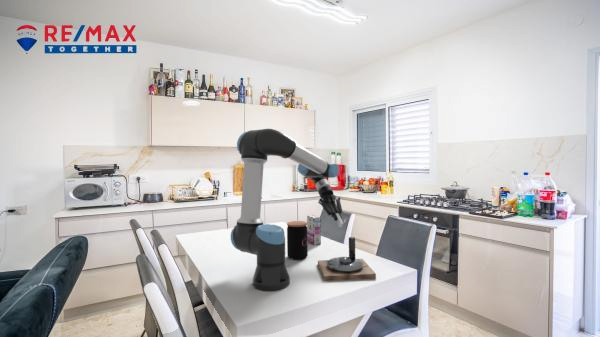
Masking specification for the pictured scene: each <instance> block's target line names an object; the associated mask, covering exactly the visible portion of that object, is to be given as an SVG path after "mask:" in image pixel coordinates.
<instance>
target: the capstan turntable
mask: <svg viewBox="0 0 600 337" xmlns="http://www.w3.org/2000/svg"><path fill="white" fill-rule="evenodd" d="M358 259H359V258H356V237H353V236H349V237H348V256H338V257H333V258H330V259H327V260H328V261H327V267H328V268H329V269H331V270H333V271H337V272H345V273H349V272H356V271H359V270H361V269H362V268H363V263H362V261H360V260H358Z"/></svg>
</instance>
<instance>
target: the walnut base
mask: <svg viewBox="0 0 600 337" xmlns="http://www.w3.org/2000/svg"><path fill="white" fill-rule="evenodd" d="M357 259H358V260H360V261H362V263H363V268H362V269H361V270H359V271H356V272H349V273H345V272H337V271H333V270H331V269H329V268H328V267H327V261H328V260H329V259H324V260H323V259H322V260H320V259H319V260H317V266H318V268H319V271H320V273H321V275H322V279H323V281H324V282H328V281H329V282H330V281H348V280H349V281H351V280H369V279H370V280H373V278H375V279H377V274H376V272H375V271H374V270H373V269H372V268H371V267H370V266H369V264H368V263H367V262H366V261H365V259H363V258H357Z"/></svg>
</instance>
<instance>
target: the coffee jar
mask: <svg viewBox="0 0 600 337" xmlns="http://www.w3.org/2000/svg"><path fill="white" fill-rule="evenodd" d="M286 225H287V227H286V240H287V241H286V242H287V243H286V244H287V247H286V248H287V249H286V250H287V253H286V254H287V257H288V259H290V260H294V261H300V260H305V259H306V258H307V257H308V256H309V255H308V252H309V250H308V249H309V248H308V241H307V221H302V220H292V221H288V222H287V223H286Z"/></svg>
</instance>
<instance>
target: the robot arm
mask: <svg viewBox="0 0 600 337" xmlns="http://www.w3.org/2000/svg"><path fill="white" fill-rule="evenodd" d="M236 148H237V151H238V153H239V154H240V155H241V157H240V158H241V159H240V160H241V161H242V162H243V164H244V165H243V176H242V179H243V180H242V194H241V207H240V208H241V210H240V217H239V218H238V219H237V220H236V224H235V226H234V227H233V228H232V229H231V232H230V241H231V245H232V246H233V247H234V248H235V249H237V250H238V251H240V252H242V253H247V254H251V255H255V256H256V267H255V272H254V275H253V278H252V285H253V286H252V287H254V288H255V289H257V290H259V291H266V292H267V291H268V292H269V291H270V292H272V291H279V290H282V289H284V288H287V287H288V286H289V285H290V283H291V282H290V280H291V278H290V274H289V271H288V268H287V266H286V265H287V264H286V236H285V230H284V228H282V226H279V225H276V224H269V223H266V224H265V223H264V221H263V220H262V219H261V212H262V195H263V179H264V165H265V164H266V163H267V162H268V157H269V156H273V157H274V156H276V157H280V158H282V159H289V160H291V161H293V162H295V163H297V164H298V165H297V166H298V167H297V172H298V173H299V174H301V175H302V176H303V177H305V178H307V179H309V180H310V181H312V182H313V184H314V186H315V188H316V190H317V192H318V195H319V197H320V198H319V200H318V204H319V205H321V207H322V208H323V210H324V211H325V212H326V214H327V216H329V217H330V216H331V218H333V220H334V221H335V222H336V225H337V226H338V228H342V227H343V226H344V222H343V218H342V215H341V214H342V213H343V208H342V205H341V204H342V203H341V197H336V195H335V194H334V191H333V188H332V187H331V184H330V182H329V181H328V179H327V178H329V179H331V178H337V177H338V176H339V172H340V167H339V165H338V163H336V162H328V161H327V160H324V159H323V158H321V157H320V156H318V155H316V154H315V153H313V152H311V151H310V150H309V149H306V148H305V147H303V146H301V145H300V144H298V143H297V141H296V139H294V138H292V137H291V136H290V135H288V134H286V133H284V132H281V131H280V130H277V129H273V128H263V129H253V130H247V131H245V132H243V133H241V134H240V136H239V137H238V139H237V141H236Z"/></svg>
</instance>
